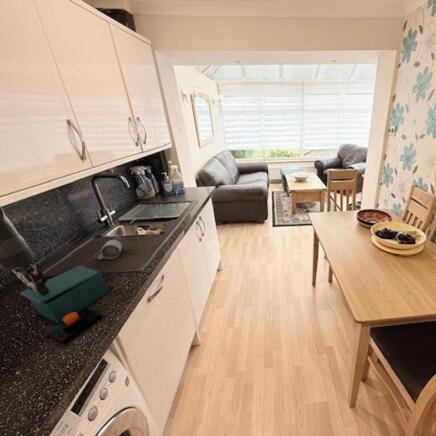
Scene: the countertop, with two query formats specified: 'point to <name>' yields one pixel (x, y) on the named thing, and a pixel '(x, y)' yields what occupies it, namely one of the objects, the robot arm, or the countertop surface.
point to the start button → (70, 318)
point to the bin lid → (61, 283)
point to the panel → (74, 326)
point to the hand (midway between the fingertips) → (40, 291)
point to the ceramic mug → (110, 250)
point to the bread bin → (72, 299)
